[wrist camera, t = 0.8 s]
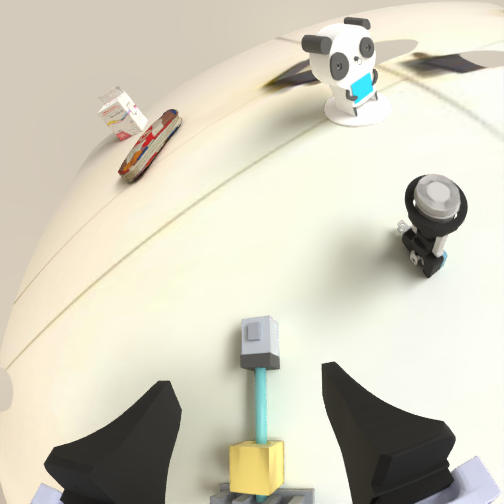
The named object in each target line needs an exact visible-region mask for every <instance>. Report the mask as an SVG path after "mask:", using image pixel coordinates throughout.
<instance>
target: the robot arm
mask: <svg viewBox="0 0 504 504" xmlns="http://www.w3.org/2000/svg"><path fill="white" fill-rule="evenodd" d="M322 396H323V400H324V404H325V408H326V412H327V415H328V418H329V420H330V423H331V425H332V428H333V431H334V433H335V436H336V438H337V441H338V444H339V446H340V449H341V452H342V456H343V460H344V464H345V468H346V473H347V477H348V482H349V487H350V492H351V497H352V502H353V504H491V503H492V502H493V501H494V500H495V499H496V498H497V497H498V496H499V495H500V494H501V491H500V489H499V487H498V486H497V484H496V482H495V481H494V479H493V478H492V476H491V475H490V473H489V472H488V470H487V468H486V467H485V465H484V464H483V462H482V461H481V459H480V458H479V456H475V457H474V458H472V459H471V460H469V461H467V462H465V463H464V464H462V465H460V466H458V467H457V468H455V469H454V470H453V471H452V472H451V473H450V471H449V470H448V467H449V462H448V461H447V457H448V455H449V453H450V452H451V450H452V448H453V446H454V443H455V441H456V438H455V435H454V434H453V433H452V431H451V430H450V428H449V427H448V426H447V425H446V424H445V422H444V421H440V420H434V419H429V418H425V417H421V416H418V415H414V414H411V413H408V412H406V411H403V410H401V409H398V408H396V407H394V406H392V405H390V404H388V403H386V402H384V401H383V400H381V399H379V398H378V397H376V396H375V395H373V394H372V393H370V392H369V391H367V390H366V389H365V388H363V387H362V386H361V385H360V384H359V383H357V382H356V381H355V380H354V379H353V378H351V377H350V376H349V375H348V374H347V373H346V372H345V371H344V370H343V369H342V368H341V367H340V366H339V365H338V364H337V363H336V362H329V363H324V364H322ZM181 412H182V409H181V407H180V405H179V402H178V400H177V397H176V395H175V393H174V390H173V388H172V385H171V383H170V381H158V382H157V383H156V384H154V385H153V386H152V387H151V388H150V389H149V390H148V391H147V392H146V393H145V394H144V395H143V396H142V397H141V398H140V399H139V400H138V401H137V402H136V403H135V404H134V405H132V406H131V407H130V408H129V409H128V410H127V411H125V412H124V413H123V414H122V415H121V416H119V417H118V418H117V419H115V420H114V421H113V422H111V423H110V424H108V425H107V426H105V427H103V428H102V429H100V430H98V431H96V432H94V433H92V434H90V435H88V436H86V437H84V438H82V439H79V440H76V441H74V442H71V443H68V444H64V445H61V446H57V447H54V448H53V450H52V451H51V453H50V454H49V456H48V458H47V459H46V461H45V463H44V466H45V469H46V470H47V472H48V473H49V474H50V475H51V476H52V477H53V478H54V479H55V480H56V481H57V482H58V483H59V484H60V485H61V486H62V487H63V488H64V489H65V490H64V492H63V493H61V492H60V491H58V490H56V489H54V488H52V487H50V486H47V485H45V484H43V483H41V485H40V487H39V488H38V490H37V492H36V494H35V496H34V498H33V499H32V501H31V503H30V504H165V492H166V481H167V474H168V467H169V463H170V459H171V455H172V452H173V448H174V445H175V441H176V438H177V434H178V431H179V427H180V420H181Z"/></svg>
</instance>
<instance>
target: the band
mask: <svg viewBox="0 0 504 504" xmlns="http://www.w3.org/2000/svg"><path fill="white" fill-rule="evenodd" d="M241 368H245V369H248V370H252V371H255V368H266V370H271V369H280V363H279V357H278V356H276V355H274V354H272V353H270V352H268V353H256V354H243V355H241Z"/></svg>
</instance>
